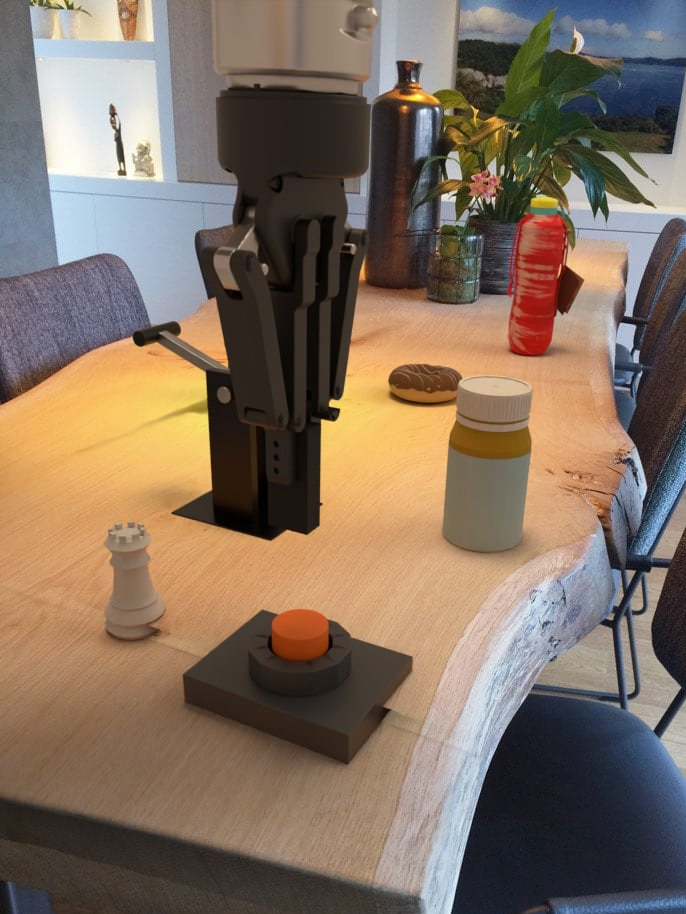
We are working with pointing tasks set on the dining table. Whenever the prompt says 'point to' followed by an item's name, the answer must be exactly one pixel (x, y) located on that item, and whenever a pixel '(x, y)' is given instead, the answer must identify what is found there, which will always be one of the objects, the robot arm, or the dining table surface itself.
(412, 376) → the donut
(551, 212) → the water bottle
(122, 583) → the rook chess piece
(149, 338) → the lever
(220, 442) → the bracket
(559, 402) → the dining table surface
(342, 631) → the control block
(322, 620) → the button
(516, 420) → the bottle
